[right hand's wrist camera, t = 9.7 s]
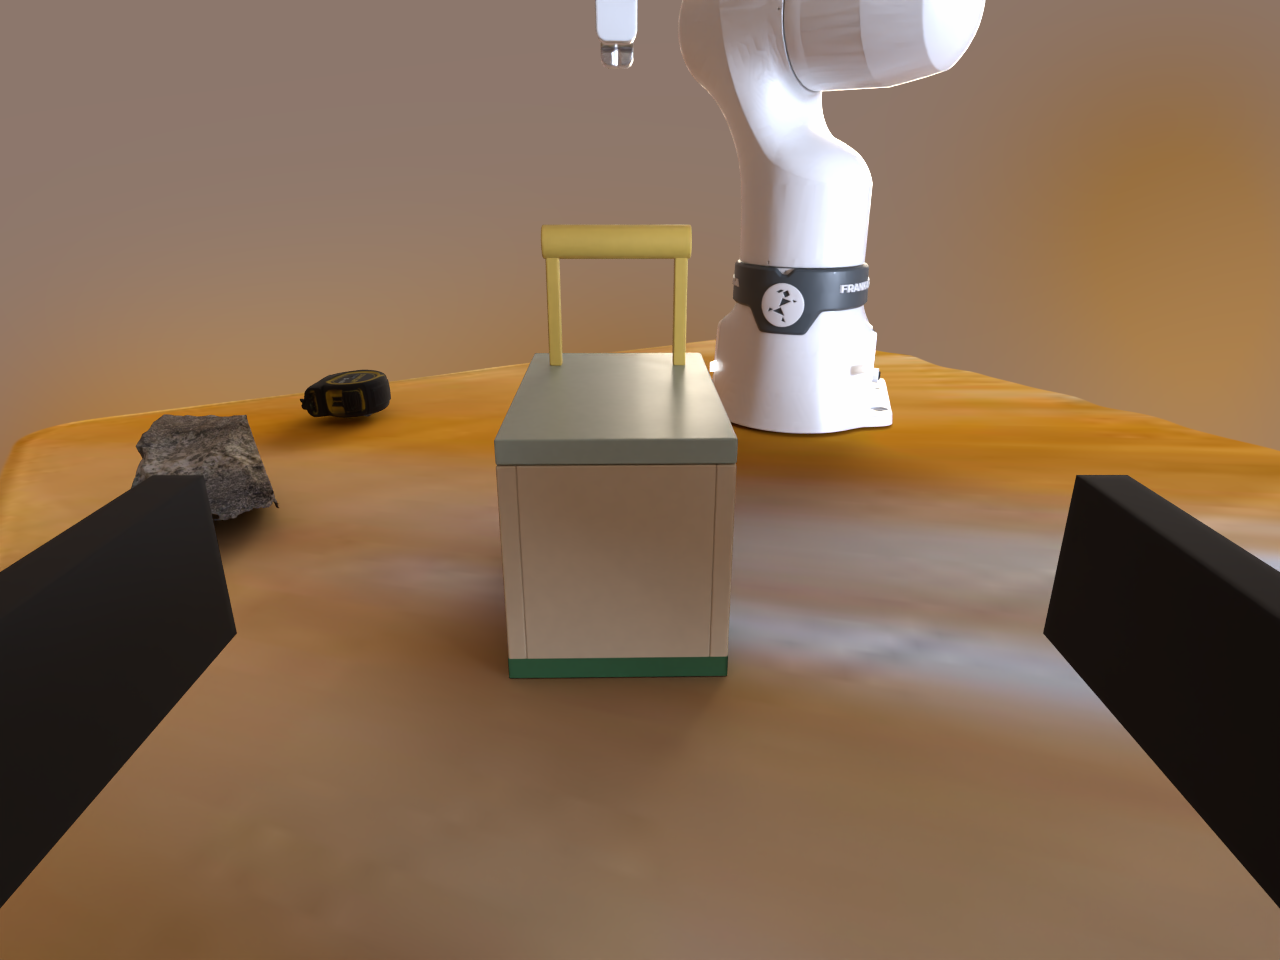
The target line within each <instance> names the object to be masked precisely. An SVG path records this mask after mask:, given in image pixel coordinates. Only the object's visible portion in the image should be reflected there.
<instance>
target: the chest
mask: <svg viewBox="0 0 1280 960" xmlns="http://www.w3.org/2000/svg"><path fill="white" fill-rule="evenodd" d="M496 476H497V491H498V507H499V522H500V537H501V552H502V567H503V582H504V597H505V612H506V627H507V642H508V665H509V678H567V677H655V676H727V665H728V634H729V613H730V592H731V571H732V550H733V529H734V508H735V486H736V464H735V463H708V464H536V465H497V466H496Z"/></svg>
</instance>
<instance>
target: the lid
mask: <svg viewBox="0 0 1280 960" xmlns="http://www.w3.org/2000/svg"><path fill="white" fill-rule="evenodd" d="M691 245H692V232H691V226H690V225H542V228H541V248H542V256H543V258H544V259H546V282H547V309H548V334H549V353H536V354H535V355H534V357H533V359H532V361H531V363H530V365H529V367H528V369H527V372H526V374H525V376H524V378H523V380H522V382H521V384H520V387H519V389H518V391H517V393H516V395H515V397H514V399H513V402H512V404H511V406H510V408H509V410H508V412H507V414H506V417H505V419H504V421H503V423H502V425H501V427H500V429H499V432H498V434H497V436H496V438H495V440H494V446H495V461H496V464H497V465H536V464H708V463H736V462H737V444H738V439H737V437H736V435H735V432H734V430H733V428H732V425H731V423H730V421H729V418H728V416H727V414H726V411H725V409H724V407H723V404H722V402H721V400H720V397H719V395H718V393H717V390H716V388H715V386H714V383H713V381H712V379H711V376H710V374H709V372H708V370H707V367H706V365H705V363H704V360H703V358H702V356H701V353H686V311H687V266H688V259H689V258H690V256H691ZM559 259H674V298H673V353H562V328H561V297H560V267H559Z"/></svg>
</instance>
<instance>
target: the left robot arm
mask: <svg viewBox="0 0 1280 960" xmlns="http://www.w3.org/2000/svg"><path fill="white" fill-rule="evenodd" d="M984 4H985V0H683V1H682V5H681V9H680V14H679V22H678V35H679V43H680V48H681V52H682V55H683V58H684V61H685V63H686V65H687V67H688V69H689V71H690V73H691V74H692V76H693V77H694V78H695V80H696V81H697V82H698V83H699V84H701V85H702V86H703V87H704V88H705V89H706V90H707V91H708V92H709V93H710V95H711V96H712V97H713V98H714V99H715V101H716V102H717V104H718V106H719V107H720V109H721V111H722V113H723V115H724V116H725V119H726V121H727V123H728V126H729V128H730V131H731V134H732V137H733V139H734V143H735V147H736V151H737V155H738V160H739V166H740V176H741V248H740V260H738V261H737V262H736V263H735V274H734V275H733V285H734V290H733V299H734V300H735V301H736V304H735V307H734V308H733V310H732V311H731V312H730V313H729V314H728V315H727V316H725V317H724V318H723V319H722V320H721V321H720V322H719V324H718V328H717V338H716V348H715V359H714V361H713V362H710V371H711V372H713V380H712V381H713V383H714V386H715V388H716V390H717V393H718V395H719V397H720V400H721V402H722V404H723V407H724V409H725V411H726V414H727V416H728V418H729V421H730V422H733V423H736V424H739V425H742V426H746V427H750V428H755V429H760V430H767V431H775V432H785V433H828V432H837V431H844V430H849V429H854V428H859V427H878V426H888V425H891V424H892V411H891V406H890V401H889V397H888V392H887V387H886V383H885V380H884V379H881V378H880V372H879V369H877V368H873V367H874V357H875V350H876V338H877V333H876V332H875V331H874V330H873V327H872V325H870V324H869V322H868V319H867V317H866V314H865V311H864V304H865V303H866V302H867V293H868V287H869V277H868V270H869V266H868V265H867V263H865V253H866V242H867V232H868V222H869V212H870V202H871V192H872V179H871V175H870V172H869V169H868V167H867V165H866V163H865V162H864V160H863V159H862V157H861V156H860V155H859V154H858V153H857V152H856V151H855V150H853V149H852V148H850V147H849V146H848V145H846V144H845V143H843V142H841V141H839V140H838V139H836V138H834V137H833V136H832V135H831V133H830V132H829V130H828V128H827V126H826V123H825V120H824V117H823V112H822V103H821V96H822V91H833V90H850V89H866V88H883V87H892V86H896V85H899V84H903V83H907V82H910V81H914V80H918V79H921V78H924V77H927V76H930V75H934V74H937V73H940V72H943V71H946V70H948V69H950V68H951V67H952V66H953V65H954V64H955V63H956V62H957V61H958V60H959V58H960V57H961V56H962V55H963V53H964V52H965V51H966V49H967V48H968V46H969V45H970V43H971V41H972V39H973V38H974V36H975V33H976V31H977V29H978V26H979V24H980V21H981V17H982V13H983V10H984ZM595 10H596V33H597V36H598V38H599V41H600V42H601V61H602V65H603V66H604V67H606V68H608V69H627V68H628V67H630V66H631V65H632V62H633V41H634V39H635V37H636V33H637V0H595Z"/></svg>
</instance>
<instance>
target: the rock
mask: <svg viewBox="0 0 1280 960" xmlns="http://www.w3.org/2000/svg"><path fill="white" fill-rule="evenodd" d="M136 448H137V450H138V452H139V453H140V454H141V456H142V460H141V461H140V464H139V466H138V469H137V471H136V477H135V478H134V481H133V484H132V487H131V489H132V488H133V487H135V486H136V485H138V484H139V483H141V482H143V481H144V480H146V479H147V478H149V477H150V476H152V475H204V480H205V484H206V489H207V494H208V499H209V503H210V508H211V513H212V514H217V515H219V517H220V518H218V519H213V520H215V521H216V520H219V521H220V520H221V519H223V520H228V519H229V518H236V517H237V516H238V515H239V514H241V513H243V512H246V511H250V510H252V509H253V508H260V507H263V508H265V507H269V506H271V504H272V502H273V501H274V503H275V506H276V507H277V508H279V507H278V505H277V504H278V503H277V501H276V499H275V496H274V493H273V489H272V486H271V483H270V481H269V478H268V476H267V474H266V471H265V468H264V465H263V463H262V460H261V458H260V455H259V452H258V449H257V446H256V444H255V441H254V438H253V435H252V432H251V429H250V426H249V424H248V421H247V415H238V416H231V417H218V416H215V415H208V416H200V417H196V416H190V415H186V416H174V415H163V416H162V417H160V418H159V419H158V420H156V421H155V422H153V424H152V425H151V427H150V429H149V430H148V431H147V432H145V433H143V434H142V437H141V439H140V440H139V442H138V443H137V445H136Z"/></svg>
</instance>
